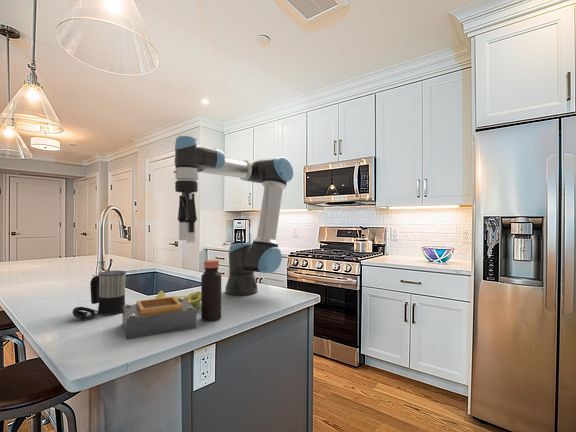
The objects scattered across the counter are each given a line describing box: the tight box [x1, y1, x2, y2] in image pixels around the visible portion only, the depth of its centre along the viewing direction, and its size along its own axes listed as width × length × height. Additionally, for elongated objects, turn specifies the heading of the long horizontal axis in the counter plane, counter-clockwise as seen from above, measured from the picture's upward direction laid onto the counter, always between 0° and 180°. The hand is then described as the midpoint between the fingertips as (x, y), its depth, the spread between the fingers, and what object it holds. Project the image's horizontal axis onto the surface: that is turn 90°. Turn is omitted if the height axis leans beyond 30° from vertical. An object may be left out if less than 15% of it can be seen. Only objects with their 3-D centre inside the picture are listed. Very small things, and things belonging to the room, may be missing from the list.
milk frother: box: [71, 270, 127, 320], centre depth 117 cm, size 14×16×15 cm
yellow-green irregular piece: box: [154, 290, 201, 309], centre depth 127 cm, size 20×7×10 cm
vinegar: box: [200, 259, 222, 322], centre depth 112 cm, size 7×7×20 cm
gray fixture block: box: [121, 296, 198, 341], centre depth 104 cm, size 20×16×8 cm
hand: (186, 241), depth 114 cm, fingers open, 13 cm apart
